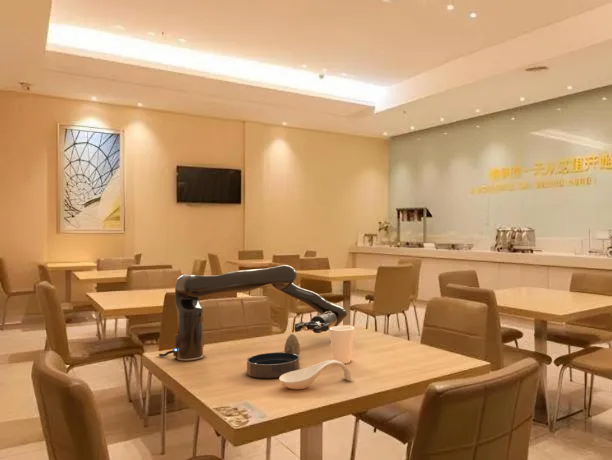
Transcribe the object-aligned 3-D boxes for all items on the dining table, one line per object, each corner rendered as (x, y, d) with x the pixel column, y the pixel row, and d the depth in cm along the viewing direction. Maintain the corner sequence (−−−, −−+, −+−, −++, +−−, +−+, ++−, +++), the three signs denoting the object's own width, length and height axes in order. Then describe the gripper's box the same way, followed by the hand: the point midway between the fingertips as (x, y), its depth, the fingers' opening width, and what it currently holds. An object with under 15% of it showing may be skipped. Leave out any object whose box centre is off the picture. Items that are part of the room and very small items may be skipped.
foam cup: (324, 361, 205) (324, 328, 204) (343, 357, 211) (343, 325, 211) (340, 366, 198) (340, 331, 198) (358, 361, 205) (358, 328, 205)
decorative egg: (299, 361, 205) (299, 335, 205) (283, 361, 204) (283, 336, 204) (300, 357, 211) (300, 332, 211) (285, 358, 210) (285, 333, 210)
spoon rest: (284, 394, 164) (284, 371, 164) (274, 385, 174) (274, 363, 174) (355, 383, 176) (355, 362, 176) (342, 375, 186) (342, 354, 186)
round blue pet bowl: (236, 377, 183) (236, 363, 183) (263, 364, 201) (264, 351, 201) (284, 381, 179) (284, 366, 179) (308, 367, 196) (308, 354, 196)
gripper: (306, 313, 236) (289, 320, 220) (336, 314, 232) (321, 321, 217) (306, 330, 236) (289, 338, 220) (336, 332, 233) (321, 339, 217)
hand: (305, 329), depth 218 cm, fingers open, 8 cm apart
